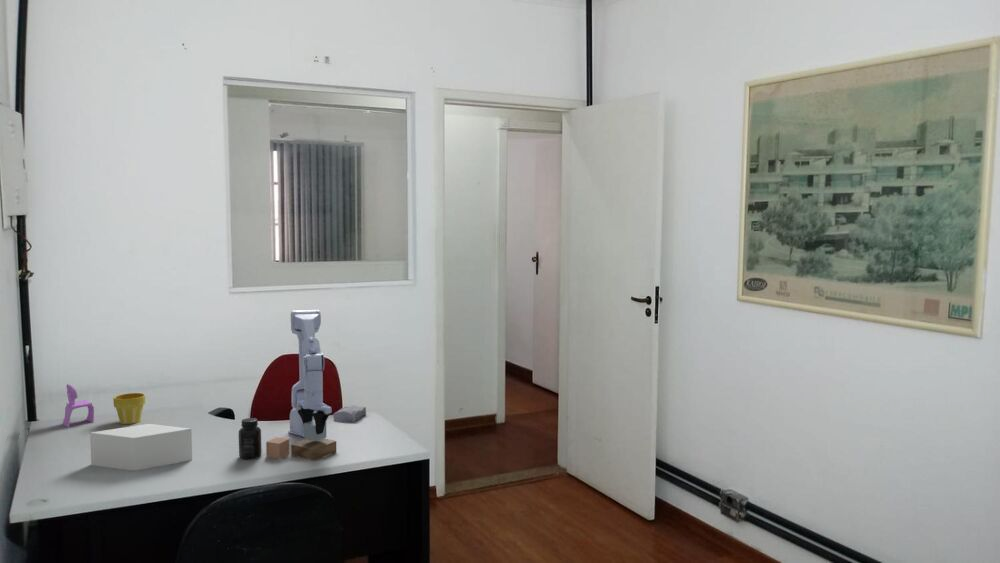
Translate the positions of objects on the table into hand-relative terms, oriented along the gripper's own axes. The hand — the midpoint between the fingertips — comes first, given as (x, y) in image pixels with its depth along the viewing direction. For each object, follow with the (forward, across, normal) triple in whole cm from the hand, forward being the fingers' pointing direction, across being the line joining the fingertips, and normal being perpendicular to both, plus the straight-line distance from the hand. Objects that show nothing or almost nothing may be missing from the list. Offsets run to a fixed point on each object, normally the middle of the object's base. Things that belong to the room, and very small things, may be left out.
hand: (314, 431), depth 226 cm
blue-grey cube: (+2, 0, 0) cm, 2 cm away
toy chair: (+7, -94, -29) cm, 99 cm away
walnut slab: (+8, 0, 0) cm, 8 cm away
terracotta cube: (+7, -8, -8) cm, 13 cm away
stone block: (+8, -22, +36) cm, 43 cm away
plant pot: (+7, -81, -17) cm, 83 cm away
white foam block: (+8, -36, -37) cm, 52 cm away
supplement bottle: (+7, -14, -14) cm, 21 cm away
